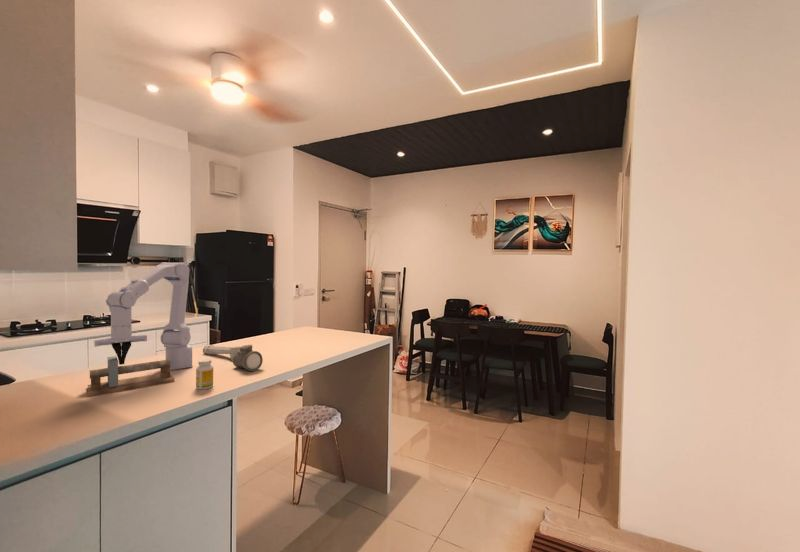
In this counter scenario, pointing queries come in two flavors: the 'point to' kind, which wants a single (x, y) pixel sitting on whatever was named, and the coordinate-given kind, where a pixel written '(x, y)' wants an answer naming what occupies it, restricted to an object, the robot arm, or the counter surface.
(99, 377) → the pipe stand
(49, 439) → the counter surface
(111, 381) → the collar
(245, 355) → the pipe fitting
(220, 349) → the grey handle
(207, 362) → the supplement bottle
